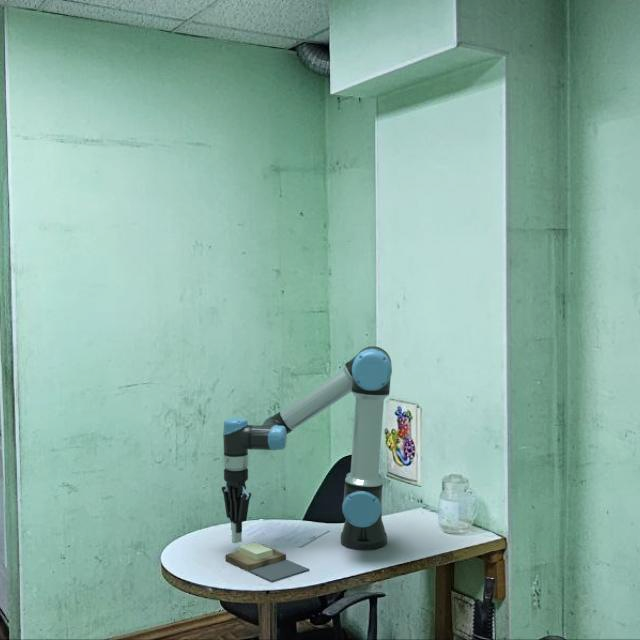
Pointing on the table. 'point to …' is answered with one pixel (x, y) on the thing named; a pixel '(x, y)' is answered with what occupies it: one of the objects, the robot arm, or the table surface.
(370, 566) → the table surface
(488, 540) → the table surface
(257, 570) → the mat
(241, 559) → the wooden board
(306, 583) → the table surface
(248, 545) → the tile
